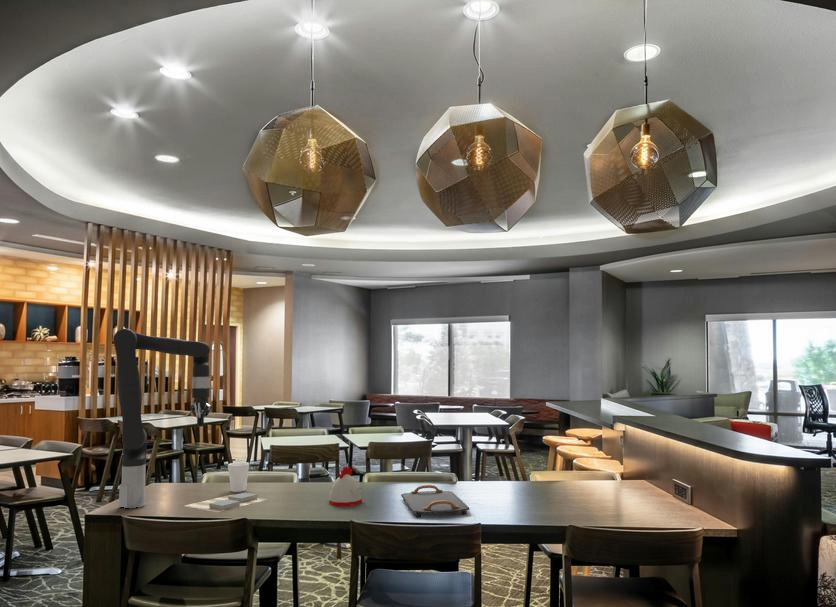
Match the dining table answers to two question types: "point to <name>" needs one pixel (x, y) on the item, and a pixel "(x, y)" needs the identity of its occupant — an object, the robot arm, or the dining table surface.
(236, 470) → the foam cup
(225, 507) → the near tile
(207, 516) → the dining table surface
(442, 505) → the serving board
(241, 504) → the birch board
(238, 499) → the far tile
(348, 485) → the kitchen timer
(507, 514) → the dining table surface
